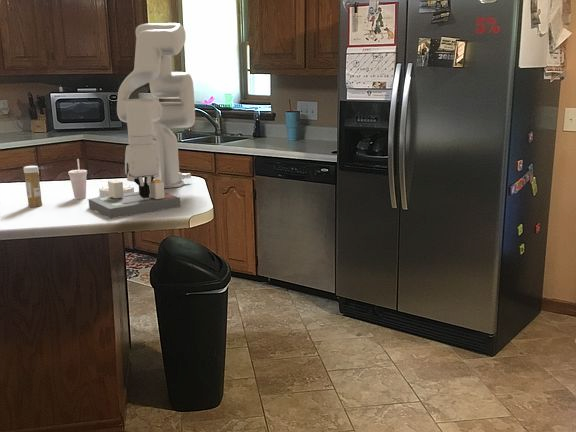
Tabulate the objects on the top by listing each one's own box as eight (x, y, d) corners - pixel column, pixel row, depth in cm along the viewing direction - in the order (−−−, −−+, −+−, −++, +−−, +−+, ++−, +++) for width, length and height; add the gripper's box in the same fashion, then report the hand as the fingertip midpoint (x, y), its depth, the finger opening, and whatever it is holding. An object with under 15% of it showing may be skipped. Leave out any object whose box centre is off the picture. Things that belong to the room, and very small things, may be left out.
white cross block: (95, 199, 218) (94, 189, 217) (106, 192, 230) (105, 182, 229) (128, 199, 217) (127, 189, 217) (138, 192, 229) (137, 182, 228)
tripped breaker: (157, 195, 206) (156, 178, 205) (164, 197, 202) (163, 180, 201) (149, 196, 204) (148, 179, 203) (156, 199, 201) (155, 182, 199)
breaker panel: (156, 197, 219) (155, 188, 218) (180, 206, 205) (179, 197, 204) (89, 207, 205) (88, 198, 204) (110, 218, 191) (109, 208, 190)
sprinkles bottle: (42, 206, 207) (38, 166, 204) (28, 208, 206) (23, 167, 202) (42, 203, 211) (37, 164, 208) (27, 205, 210) (22, 165, 206)
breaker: (117, 194, 208) (116, 179, 207) (123, 197, 204) (122, 182, 203) (109, 195, 206) (107, 181, 205) (115, 198, 203) (113, 183, 201)
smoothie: (83, 200, 216) (80, 160, 212) (67, 199, 217) (63, 160, 214) (93, 196, 222) (89, 157, 218) (76, 195, 223) (72, 157, 220)
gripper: (157, 137, 204) (160, 192, 208) (113, 141, 195) (118, 198, 199) (167, 139, 198) (171, 196, 202) (122, 144, 189) (127, 202, 194)
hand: (144, 197), depth 201 cm, fingers closed
